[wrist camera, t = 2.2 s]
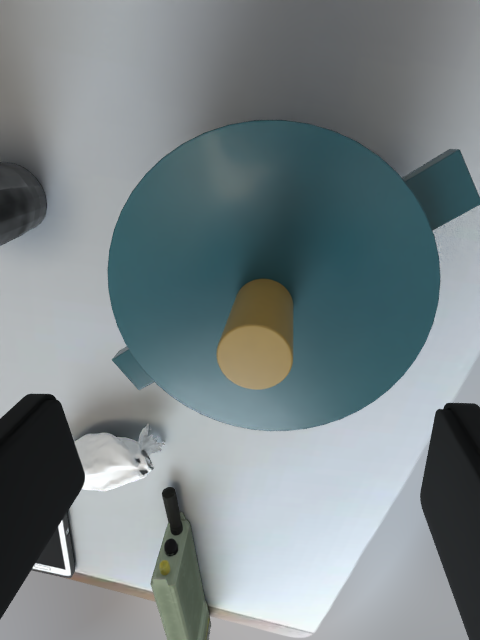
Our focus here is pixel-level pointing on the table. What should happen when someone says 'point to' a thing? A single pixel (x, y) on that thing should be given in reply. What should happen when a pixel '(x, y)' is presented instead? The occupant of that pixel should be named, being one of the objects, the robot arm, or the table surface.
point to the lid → (273, 275)
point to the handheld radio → (179, 579)
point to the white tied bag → (115, 459)
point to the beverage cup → (19, 202)
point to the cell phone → (57, 553)
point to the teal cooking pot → (433, 195)
